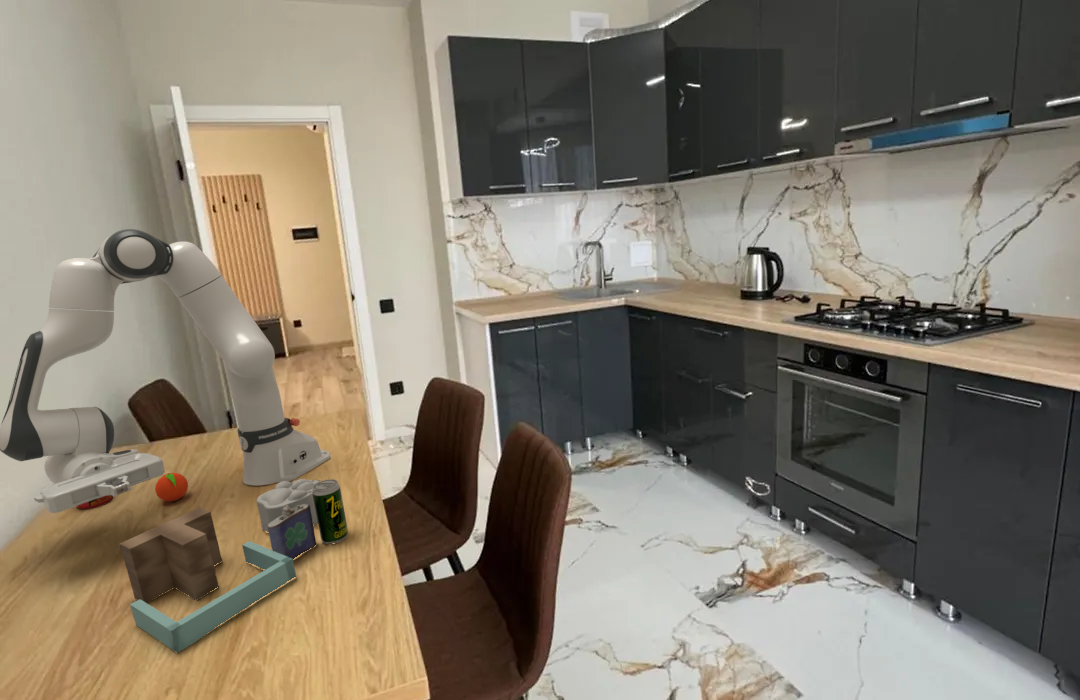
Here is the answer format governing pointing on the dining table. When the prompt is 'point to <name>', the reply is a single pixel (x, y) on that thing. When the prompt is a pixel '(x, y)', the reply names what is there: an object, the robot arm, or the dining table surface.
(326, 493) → the beer can
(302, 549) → the flask
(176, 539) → the t block
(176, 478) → the clementine
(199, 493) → the dining table surface
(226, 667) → the dining table surface
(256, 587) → the fence
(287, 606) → the dining table surface
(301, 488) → the grey bumpy block
